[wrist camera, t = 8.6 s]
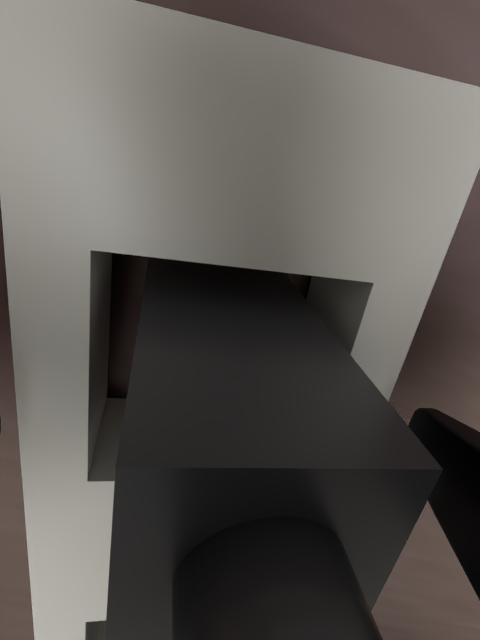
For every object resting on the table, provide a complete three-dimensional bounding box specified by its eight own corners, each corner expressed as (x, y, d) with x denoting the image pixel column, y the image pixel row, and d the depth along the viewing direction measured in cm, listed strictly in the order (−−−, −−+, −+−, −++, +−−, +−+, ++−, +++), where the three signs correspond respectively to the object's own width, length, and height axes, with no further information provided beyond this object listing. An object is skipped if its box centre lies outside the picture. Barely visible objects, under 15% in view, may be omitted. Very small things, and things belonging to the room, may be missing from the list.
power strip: (244, 647, 21) (261, 769, 17) (65, 665, 19) (37, 807, 15) (408, 105, 11) (554, 88, 7) (49, 22, 9) (-55, -72, 5)
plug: (257, 379, 14) (420, 838, 5) (140, 372, 13) (72, 918, 4) (282, 270, 12) (594, 657, 3) (149, 254, 11) (73, 723, 2)
